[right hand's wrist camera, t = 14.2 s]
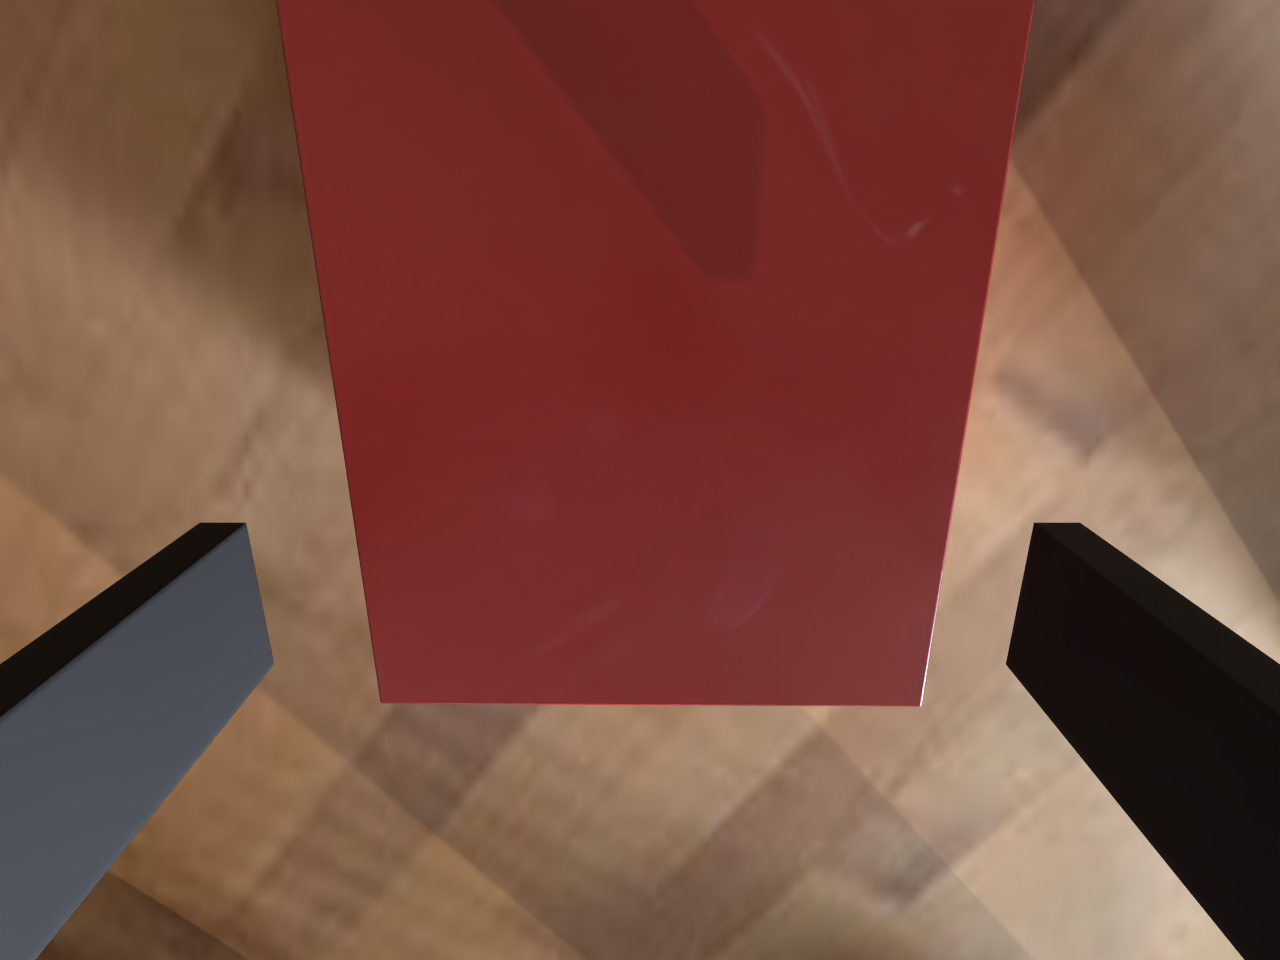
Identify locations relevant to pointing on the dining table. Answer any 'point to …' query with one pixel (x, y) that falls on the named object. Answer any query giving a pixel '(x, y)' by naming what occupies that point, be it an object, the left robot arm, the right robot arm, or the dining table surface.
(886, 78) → the cabinet
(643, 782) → the dining table surface
